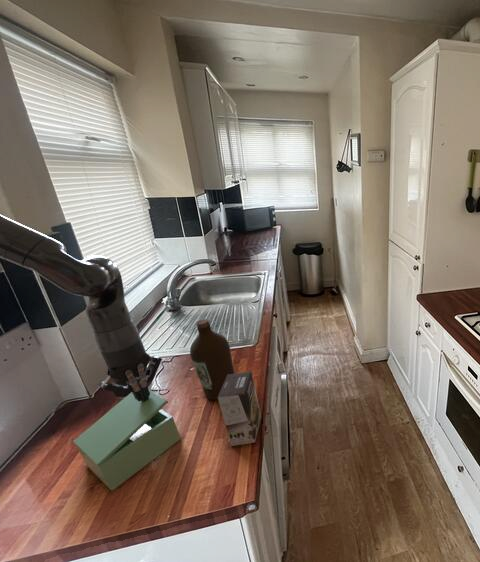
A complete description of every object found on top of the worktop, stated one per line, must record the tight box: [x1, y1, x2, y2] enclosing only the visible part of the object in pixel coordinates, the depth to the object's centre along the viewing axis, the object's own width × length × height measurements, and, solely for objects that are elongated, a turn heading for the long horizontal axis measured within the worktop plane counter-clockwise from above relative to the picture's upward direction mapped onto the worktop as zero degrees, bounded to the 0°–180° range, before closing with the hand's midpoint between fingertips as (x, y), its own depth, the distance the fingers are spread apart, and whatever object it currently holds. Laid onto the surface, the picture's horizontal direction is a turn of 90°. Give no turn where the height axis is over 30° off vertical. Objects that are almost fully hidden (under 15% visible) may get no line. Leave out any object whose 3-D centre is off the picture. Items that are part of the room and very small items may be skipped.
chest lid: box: [72, 389, 169, 466], centre depth 74 cm, size 16×13×1 cm
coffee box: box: [217, 370, 262, 447], centre depth 80 cm, size 9×6×16 cm
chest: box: [74, 408, 182, 492], centre depth 77 cm, size 16×13×8 cm
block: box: [127, 424, 152, 444], centre depth 79 cm, size 4×4×4 cm
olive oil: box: [189, 318, 235, 401], centre depth 94 cm, size 11×11×25 cm
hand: (143, 399), depth 78 cm, fingers closed
